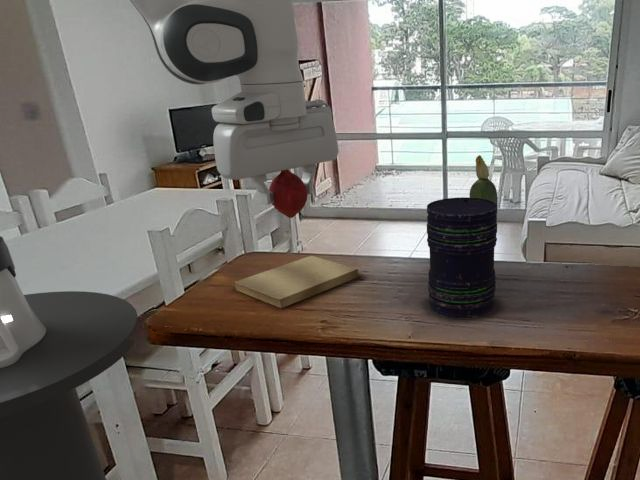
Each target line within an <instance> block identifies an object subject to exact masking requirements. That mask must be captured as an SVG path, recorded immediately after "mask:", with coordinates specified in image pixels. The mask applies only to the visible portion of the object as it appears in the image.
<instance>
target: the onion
mask: <svg viewBox="0 0 640 480" xmlns="http://www.w3.org/2000/svg"><path fill="white" fill-rule="evenodd" d="M268 190H270V191H274V192H275V199H276V202H275V203H272V204H271V205H272V206H273V208H274V209H275V210H276V211H278V212H279V213H281V214H282V215H283V216H286V217H287V218H289V219H292V218H295V216H297V215H298V214H299V213H300V212H301V211H302V210H303V209H304V207H305V206H306V203H307V201H308V196H309V194H308V193H307V188H306V186H305V184H304V183H303V181H302V178H301V177H300V176H299V175H297V174H295V173H293V172H292V171H291V170H290V169H288V170H283V171H280V173H278V174H277V175H276V176H274V178H273V179H272V181H271V183H270V185H269V188H268Z"/></svg>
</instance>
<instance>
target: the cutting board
mask: <svg viewBox="0 0 640 480" xmlns="http://www.w3.org/2000/svg"><path fill="white" fill-rule="evenodd" d="M357 278H359V269H358V268H356V267H352V266H349V265H345V264H343V263H339V262H335V261H332V260H328V259H325V258H321V257H319V256H315V255H308V256H306V257H303V258H301V259H297V260H294V261H291V262H288V263H286V264H283V265H280V266H276V267H274V268H271V269H267V270H265V271H262V272H259V273H256V274H254V275H251V276H248V277H244V278H242V279H238V280H237V281H234V286H235V290H236V291H237V292H239V293H242V294H245V295H247V296H250V297H251V298H254V299H257V300H260V301H262V302H265V303H266V304H270V305H271V306H274V307H277V308H280V309H283V308H287V307H288V306H291V305H294V304H296V303H299V302H301V301H303V300H305V299H308V298H311V297H313V296H316V295H318V294H320V293H323V292H325V291H327V290H330V289H333V288H335V287H337V286H340V285H342V284H346V283H348V282H350V281H352V280H354V279H357Z"/></svg>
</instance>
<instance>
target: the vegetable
mask: <svg viewBox="0 0 640 480" xmlns="http://www.w3.org/2000/svg"><path fill="white" fill-rule="evenodd" d="M475 174H476V178H477V180H475V181H474V182H473V184H472V185H471V187H470V190H469V198H480V199H486V200H490V201H493V202H494V203H496V204H497V207H498V201H499V200H498V191H497V187H496V185H495V183H494V182H492V181H491V180H490V179H489V177H490V171H489V167H488V165H487V164H486V161H485V160H484V158H483V157H482V155H480V154H479V155H477V156H476V157H475ZM496 215H497V216H498V212H497V213H496Z"/></svg>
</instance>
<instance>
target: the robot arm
mask: <svg viewBox="0 0 640 480" xmlns="http://www.w3.org/2000/svg"><path fill="white" fill-rule="evenodd" d="M129 1H130V3H132V5H133V6H134V8H135V9H136V10H137V12H138V13H139V14H140V15H141V17H142V18H143V20H144V21H145V23H146V25H147V27H148V29H149V31H150V34H151V38H152V40H153V44H154V47H155V50H156V53H157V56H158V58H159V60H160V62H161V63H162V65H163V66H164V68H165V69H166V70H167V71H168V72H169V73H170V74H171V75H172V76H174V77H175V78H176V79H178V80H179V81H181V82H184V83H187V84H190V85H206V84H214V83H218V82H220V81H223V80H225V79H227V78H231V77H234V76H236V77H238V79H239V84H240V92H238V93H236V94H235V95H232V96H231V97H229V98H227V99H225V100H223V101H221V102H219V103H218V104H215V105H214V106H213V107H212V108H211V115H212V119H213V121H214V122H216V123H218V124H217V125H216V126H215V128H214V130H213V137H212V138H213V139H212V140H213V152H214V159H215V166H216V170H217V172H218V173H219V174H220V175H221V176H222V178H224V179H227V180H232V181H239V180H244V179H248V178H249V179H250V183H252V185H253V186H254V188H255V189H256V190H257V191H258V193H259V196H260V197H259V198H260V203H261V204H263V205H266V206H268V205H272V203H275V202H276V199H275V192H274V191H270V190H269V188H268V186H267V185H266V182H268V177H267V175H269V174H274V173H278V172H281V171H283V170H293V169H297V168H300V171H301V172H302V176H301V180H302V181H303V183H304V184H305V186H306V188H307V193H308V195H311V194H313V181H314V178H315V176H316V172H317V164H321V163H326V162H331V161H336V160H337V159H338V155H339V152H340V151H339V150H340V149H339V142H338V137H337V132H336V128H335V124H334V123H335V122H334V121H333V112H332V109H331V107H330V105H329V104H328V103H327V102H325V101H324V100H323V99H314V100H306V93H305V83H304V77H303V74H302V71H301V69H300V65H299V55H300V39H299V33H298V25H297V19H296V14H295V9H294V4H293V0H192V1H189V0H129ZM15 270H16V267H15V263H14V261H13V257H12V255H11V252H10V250H9V247H8V245H7V243H6V241H5V240H4V238H3V237H2V236H0V368H3V367H7V366H10V365H12V364H14V363H15V362H17V361H18V359H19V358H20V357H21V356H22V354H23V353H24V352H25V351H27V350H28V349H29V348H31V347H33V346H34V345H35V344H37V343H38V342H39V341H40V340H41V339H42V338H43V337H44V336H45V334H46V328H45V326H44V325H43V324H42V323H41V322H40V320H39V319H38V317H37V316H36V315H35V313H34V312H33V310H32V309H31V307H30V305H29V304H28V302H27V300H26V299H25V297H24V295H25V294H24V293H23V291H22V289H21V287H20V285H19V283H18V281H17V279H16V277H17V274H16V271H15Z"/></svg>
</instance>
